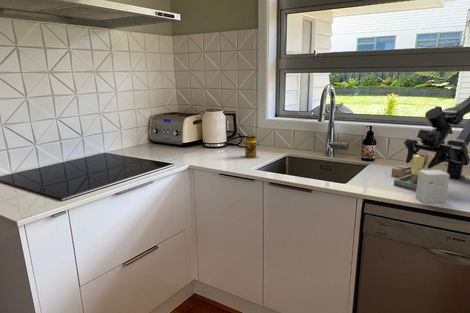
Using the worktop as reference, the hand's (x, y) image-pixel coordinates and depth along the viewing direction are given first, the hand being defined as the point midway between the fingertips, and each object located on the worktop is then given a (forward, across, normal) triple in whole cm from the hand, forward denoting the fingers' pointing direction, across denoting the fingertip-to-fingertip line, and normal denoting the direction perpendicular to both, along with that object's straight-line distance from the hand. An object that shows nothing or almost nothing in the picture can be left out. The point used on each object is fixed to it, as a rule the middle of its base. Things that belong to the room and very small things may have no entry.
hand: (417, 165), depth 133 cm
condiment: (+29, -76, -16) cm, 83 cm away
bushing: (+5, 0, +7) cm, 8 cm away
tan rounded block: (0, -12, +12) cm, 17 cm away
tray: (+5, 0, +7) cm, 9 cm away
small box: (+13, +12, 0) cm, 18 cm away
